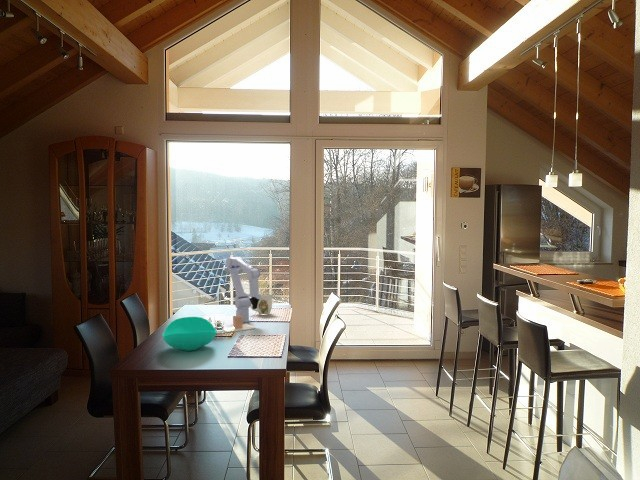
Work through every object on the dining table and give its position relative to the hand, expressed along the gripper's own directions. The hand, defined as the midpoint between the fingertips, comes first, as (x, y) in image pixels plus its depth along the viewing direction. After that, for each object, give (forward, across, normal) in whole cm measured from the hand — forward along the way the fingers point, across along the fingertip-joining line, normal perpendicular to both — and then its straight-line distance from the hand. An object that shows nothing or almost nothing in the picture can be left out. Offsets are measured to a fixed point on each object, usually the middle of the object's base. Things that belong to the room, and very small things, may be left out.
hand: (254, 309), depth 316 cm
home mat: (+10, -2, +13) cm, 17 cm away
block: (+10, -2, +13) cm, 16 cm away
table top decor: (+11, -31, +51) cm, 61 cm away
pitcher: (+10, +28, -18) cm, 35 cm away
